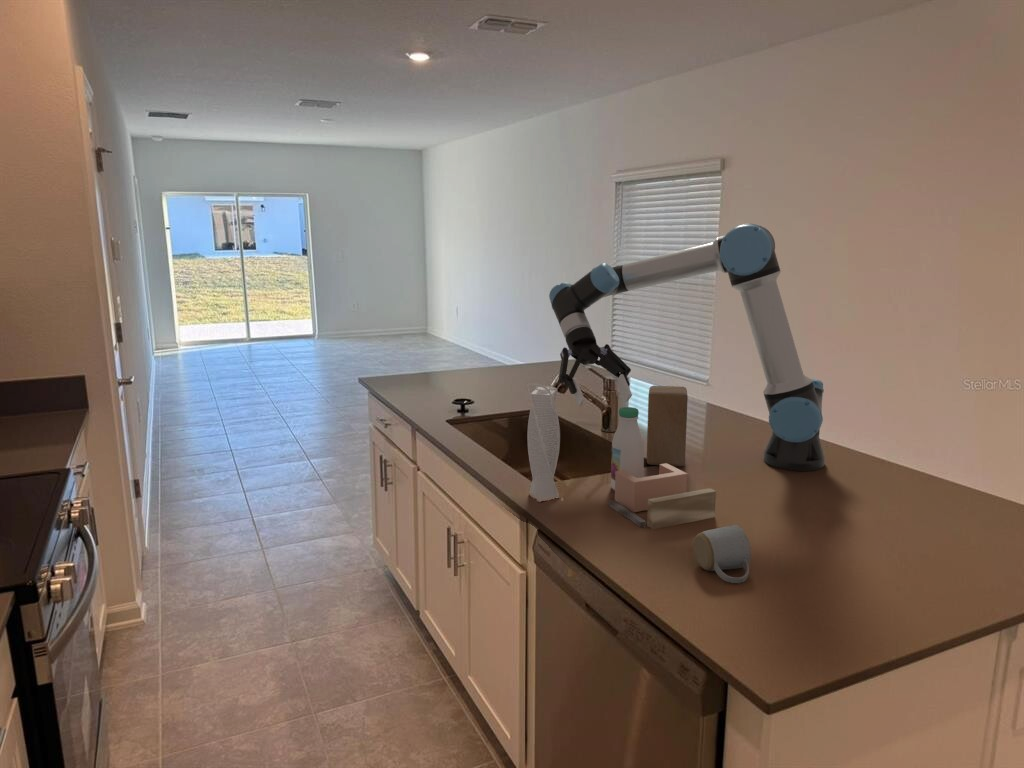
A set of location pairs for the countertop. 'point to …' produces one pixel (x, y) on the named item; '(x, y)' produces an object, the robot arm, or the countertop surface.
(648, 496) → the cradle
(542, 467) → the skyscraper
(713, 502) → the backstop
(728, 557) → the ceramic mug
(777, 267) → the robot arm
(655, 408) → the block
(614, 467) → the milk bottle
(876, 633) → the countertop surface
